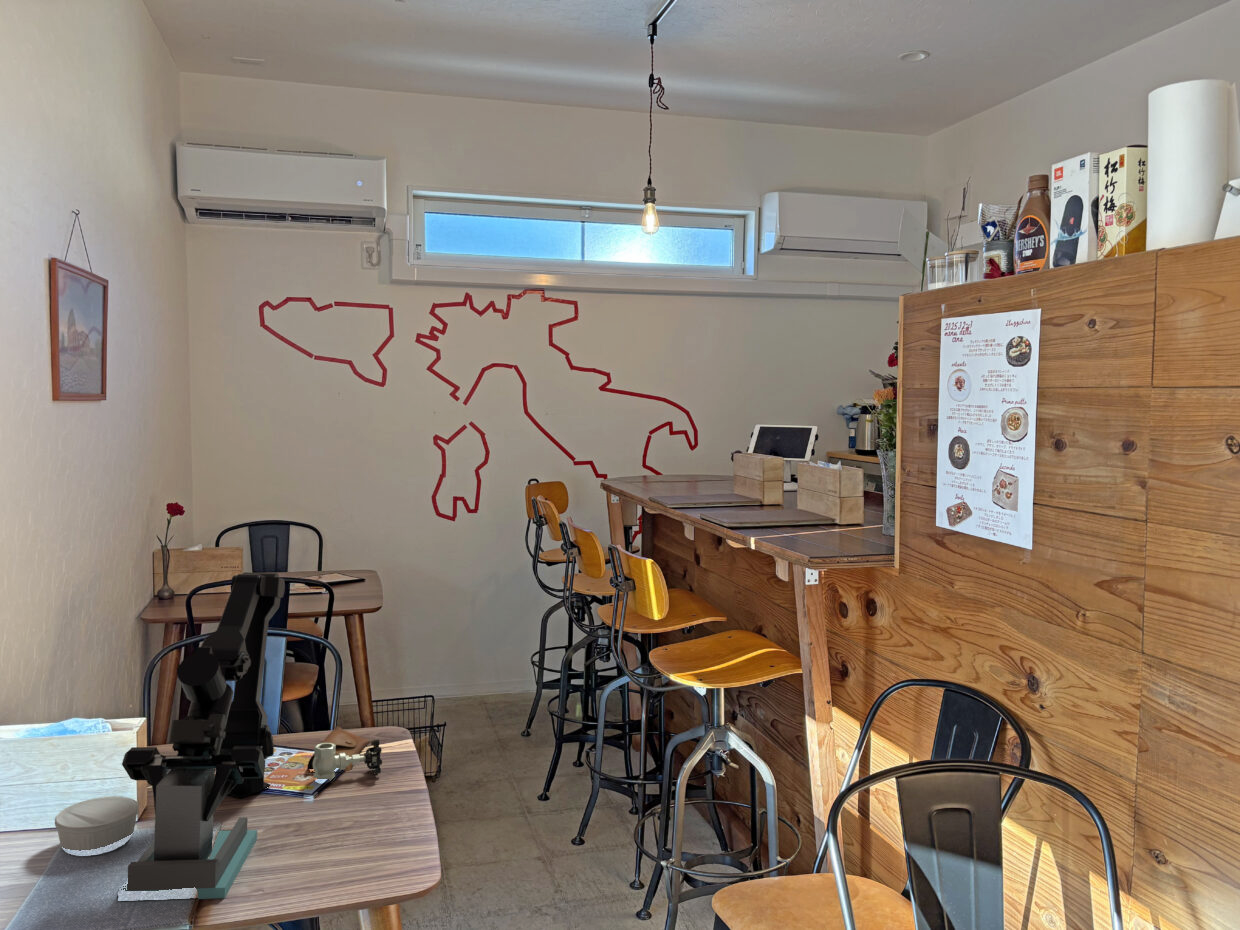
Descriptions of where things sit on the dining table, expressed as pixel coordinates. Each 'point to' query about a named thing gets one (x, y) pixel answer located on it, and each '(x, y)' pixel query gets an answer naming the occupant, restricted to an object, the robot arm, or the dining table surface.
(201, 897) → the dock plate
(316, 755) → the valve
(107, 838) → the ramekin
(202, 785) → the lock block
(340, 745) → the sunglasses case
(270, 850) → the dining table surface
